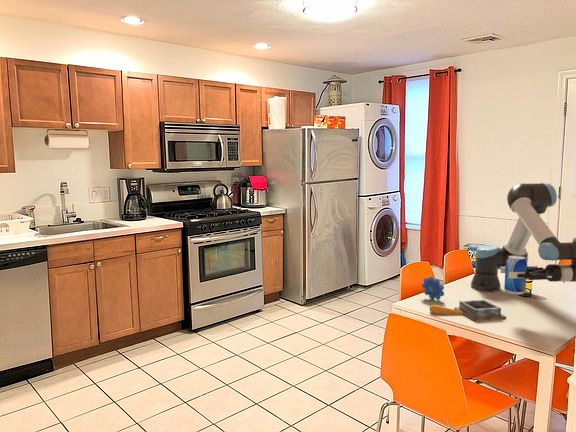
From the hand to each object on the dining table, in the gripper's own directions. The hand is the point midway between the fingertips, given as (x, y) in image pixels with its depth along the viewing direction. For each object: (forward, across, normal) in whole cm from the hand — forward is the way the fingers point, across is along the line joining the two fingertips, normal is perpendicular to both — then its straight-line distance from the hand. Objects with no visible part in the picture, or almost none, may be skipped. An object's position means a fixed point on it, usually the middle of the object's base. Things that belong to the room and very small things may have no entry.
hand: (504, 272), depth 198 cm
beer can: (-5, 0, -9) cm, 10 cm away
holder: (+7, +7, -22) cm, 24 cm away
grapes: (+24, +28, -22) cm, 43 cm away
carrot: (+20, +6, -22) cm, 31 cm away
